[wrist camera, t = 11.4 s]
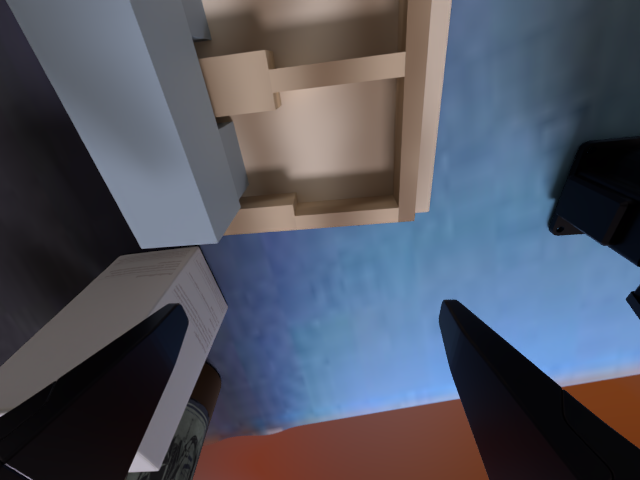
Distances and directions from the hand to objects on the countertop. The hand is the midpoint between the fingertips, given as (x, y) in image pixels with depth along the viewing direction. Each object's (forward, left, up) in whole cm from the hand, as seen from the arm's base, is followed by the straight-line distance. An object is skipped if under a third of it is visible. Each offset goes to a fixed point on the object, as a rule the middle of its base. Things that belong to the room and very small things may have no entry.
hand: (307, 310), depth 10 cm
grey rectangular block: (+7, -7, -11) cm, 14 cm away
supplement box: (+14, +8, -12) cm, 20 cm away
